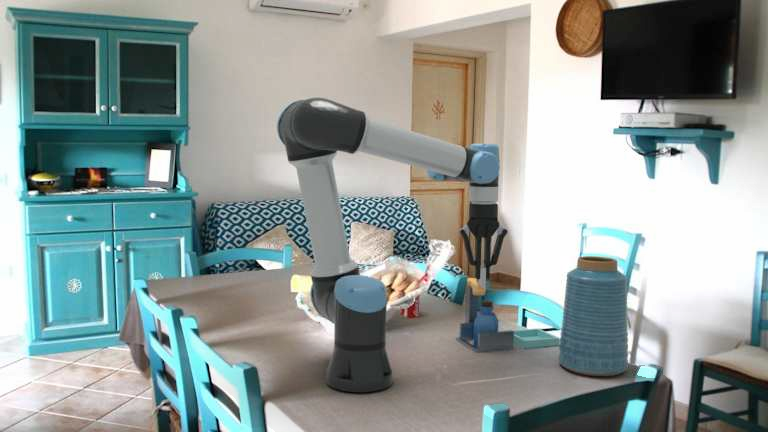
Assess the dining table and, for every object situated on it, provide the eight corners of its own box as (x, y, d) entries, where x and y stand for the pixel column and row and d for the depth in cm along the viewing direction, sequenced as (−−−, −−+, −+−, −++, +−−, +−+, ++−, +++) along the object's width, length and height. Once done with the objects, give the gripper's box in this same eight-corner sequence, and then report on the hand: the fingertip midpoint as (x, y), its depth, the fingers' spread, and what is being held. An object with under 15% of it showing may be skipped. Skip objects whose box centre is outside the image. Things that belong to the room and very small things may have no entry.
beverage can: (413, 322, 213) (414, 283, 212) (396, 319, 215) (397, 281, 214) (422, 318, 218) (423, 280, 217) (405, 316, 220) (406, 278, 219)
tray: (559, 347, 188) (559, 338, 188) (524, 350, 184) (525, 340, 184) (538, 337, 198) (538, 328, 198) (504, 339, 194) (505, 331, 194)
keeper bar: (485, 295, 180) (485, 290, 180) (473, 295, 180) (473, 289, 180) (477, 283, 197) (477, 278, 197) (465, 283, 197) (466, 277, 197)
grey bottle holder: (513, 349, 185) (515, 294, 183) (475, 352, 181) (477, 297, 180) (484, 334, 200) (486, 283, 199) (449, 337, 196) (450, 285, 195)
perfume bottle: (496, 349, 185) (498, 304, 184) (473, 347, 186) (474, 303, 185) (497, 343, 191) (499, 299, 190) (474, 341, 192) (476, 298, 191)
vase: (598, 355, 181) (603, 253, 179) (642, 374, 166) (648, 262, 163) (544, 361, 175) (548, 255, 173) (585, 381, 160) (590, 265, 157)
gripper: (504, 201, 187) (502, 288, 190) (456, 201, 187) (455, 288, 189) (511, 203, 180) (509, 293, 182) (461, 203, 179) (460, 294, 181)
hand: (481, 291), depth 186 cm, fingers closed
